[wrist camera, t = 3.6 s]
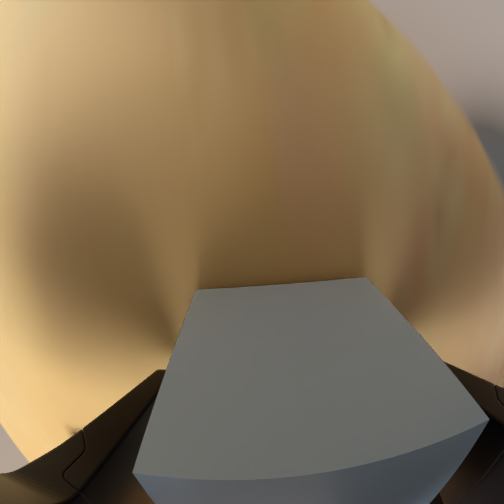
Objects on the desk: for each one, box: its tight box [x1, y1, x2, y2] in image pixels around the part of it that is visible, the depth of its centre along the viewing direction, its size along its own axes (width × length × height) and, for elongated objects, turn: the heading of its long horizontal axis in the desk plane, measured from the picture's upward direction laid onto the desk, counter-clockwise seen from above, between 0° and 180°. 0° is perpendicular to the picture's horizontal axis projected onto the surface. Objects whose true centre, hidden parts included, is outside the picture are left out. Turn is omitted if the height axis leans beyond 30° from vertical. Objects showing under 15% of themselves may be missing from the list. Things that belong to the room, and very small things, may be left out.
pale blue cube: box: [132, 277, 489, 504], centre depth 6 cm, size 5×5×6 cm
